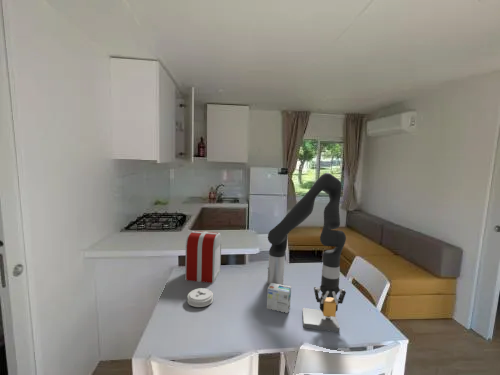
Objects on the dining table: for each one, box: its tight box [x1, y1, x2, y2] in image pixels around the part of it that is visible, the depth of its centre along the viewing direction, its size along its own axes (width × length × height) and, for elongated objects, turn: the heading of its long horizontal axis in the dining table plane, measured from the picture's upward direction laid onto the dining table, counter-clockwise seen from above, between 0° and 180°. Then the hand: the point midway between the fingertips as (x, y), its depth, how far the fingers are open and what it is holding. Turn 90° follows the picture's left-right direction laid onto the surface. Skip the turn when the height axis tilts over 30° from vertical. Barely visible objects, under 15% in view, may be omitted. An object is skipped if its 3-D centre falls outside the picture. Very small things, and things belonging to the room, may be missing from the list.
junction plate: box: [301, 307, 341, 333], centre depth 118 cm, size 15×12×2 cm
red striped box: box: [184, 230, 222, 284], centre depth 158 cm, size 16×18×27 cm
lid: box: [187, 287, 214, 308], centre depth 131 cm, size 13×13×5 cm
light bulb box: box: [266, 283, 292, 314], centre depth 127 cm, size 11×7×11 cm, turn 71°
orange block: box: [323, 297, 337, 317], centre depth 116 cm, size 5×5×6 cm
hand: (328, 310), depth 117 cm, fingers closed on orange block, 5 cm apart
